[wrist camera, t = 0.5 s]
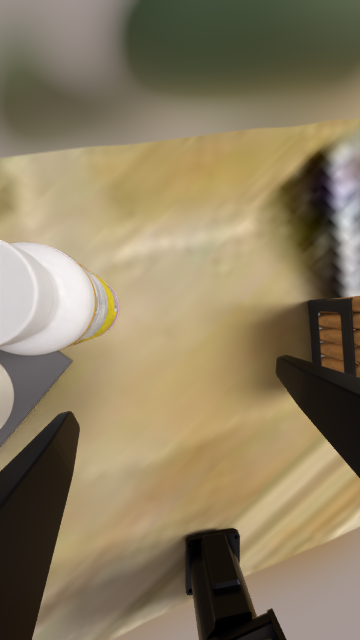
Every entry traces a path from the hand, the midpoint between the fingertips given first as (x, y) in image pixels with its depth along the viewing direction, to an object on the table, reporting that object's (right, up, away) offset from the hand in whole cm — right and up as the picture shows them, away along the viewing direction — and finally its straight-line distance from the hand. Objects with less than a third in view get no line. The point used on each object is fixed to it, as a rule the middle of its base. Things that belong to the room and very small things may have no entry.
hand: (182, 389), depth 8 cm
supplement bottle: (-10, +4, +12) cm, 16 cm away
